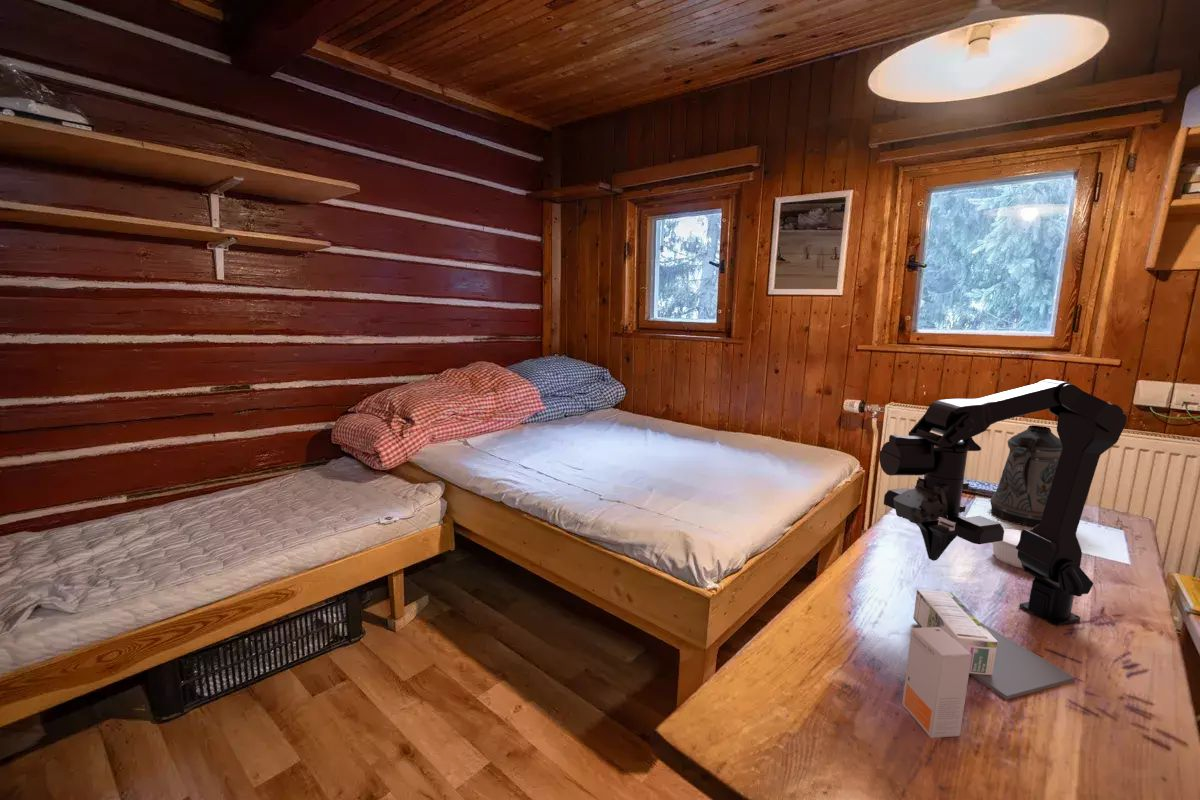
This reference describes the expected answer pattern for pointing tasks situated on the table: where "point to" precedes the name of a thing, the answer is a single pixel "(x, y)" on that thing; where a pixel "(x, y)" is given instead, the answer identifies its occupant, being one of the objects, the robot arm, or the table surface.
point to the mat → (1020, 670)
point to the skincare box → (936, 681)
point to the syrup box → (957, 627)
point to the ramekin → (1008, 548)
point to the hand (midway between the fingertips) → (932, 559)
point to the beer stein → (1027, 476)
